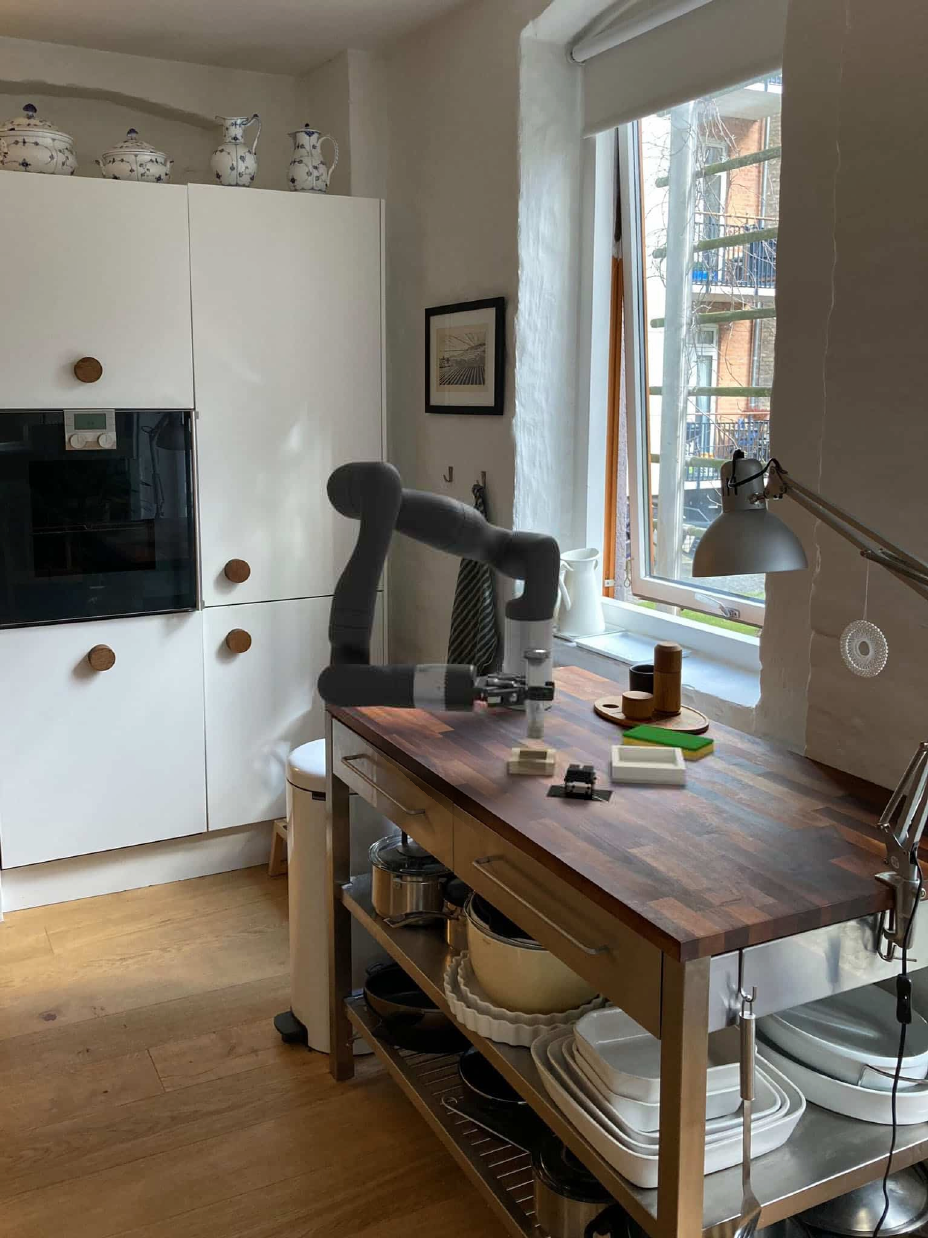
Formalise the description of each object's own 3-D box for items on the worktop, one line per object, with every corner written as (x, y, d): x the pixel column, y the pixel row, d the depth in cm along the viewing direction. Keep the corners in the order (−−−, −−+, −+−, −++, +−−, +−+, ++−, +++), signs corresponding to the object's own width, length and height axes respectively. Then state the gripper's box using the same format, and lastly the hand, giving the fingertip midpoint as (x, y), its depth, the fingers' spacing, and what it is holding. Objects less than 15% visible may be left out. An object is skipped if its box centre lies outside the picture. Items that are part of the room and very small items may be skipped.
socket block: (512, 759, 183) (512, 747, 183) (555, 761, 182) (555, 749, 182) (509, 773, 176) (509, 761, 176) (553, 775, 175) (554, 762, 175)
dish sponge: (694, 762, 183) (695, 748, 183) (620, 746, 192) (621, 733, 191) (714, 752, 189) (714, 738, 189) (641, 737, 197) (642, 724, 197)
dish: (611, 760, 183) (611, 745, 183) (679, 762, 182) (680, 748, 181) (612, 781, 172) (612, 766, 172) (685, 785, 171) (686, 769, 171)
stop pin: (521, 731, 181) (522, 646, 178) (549, 732, 180) (550, 647, 178) (520, 740, 177) (521, 653, 174) (548, 741, 176) (549, 653, 173)
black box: (624, 793, 169) (625, 764, 168) (618, 809, 162) (619, 779, 161) (542, 786, 172) (543, 757, 171) (533, 801, 165) (534, 772, 164)
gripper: (439, 675, 171) (553, 678, 169) (450, 654, 185) (556, 657, 183) (439, 723, 172) (552, 726, 171) (450, 698, 186) (555, 702, 184)
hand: (553, 690), depth 177 cm, fingers closed on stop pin, 3 cm apart
